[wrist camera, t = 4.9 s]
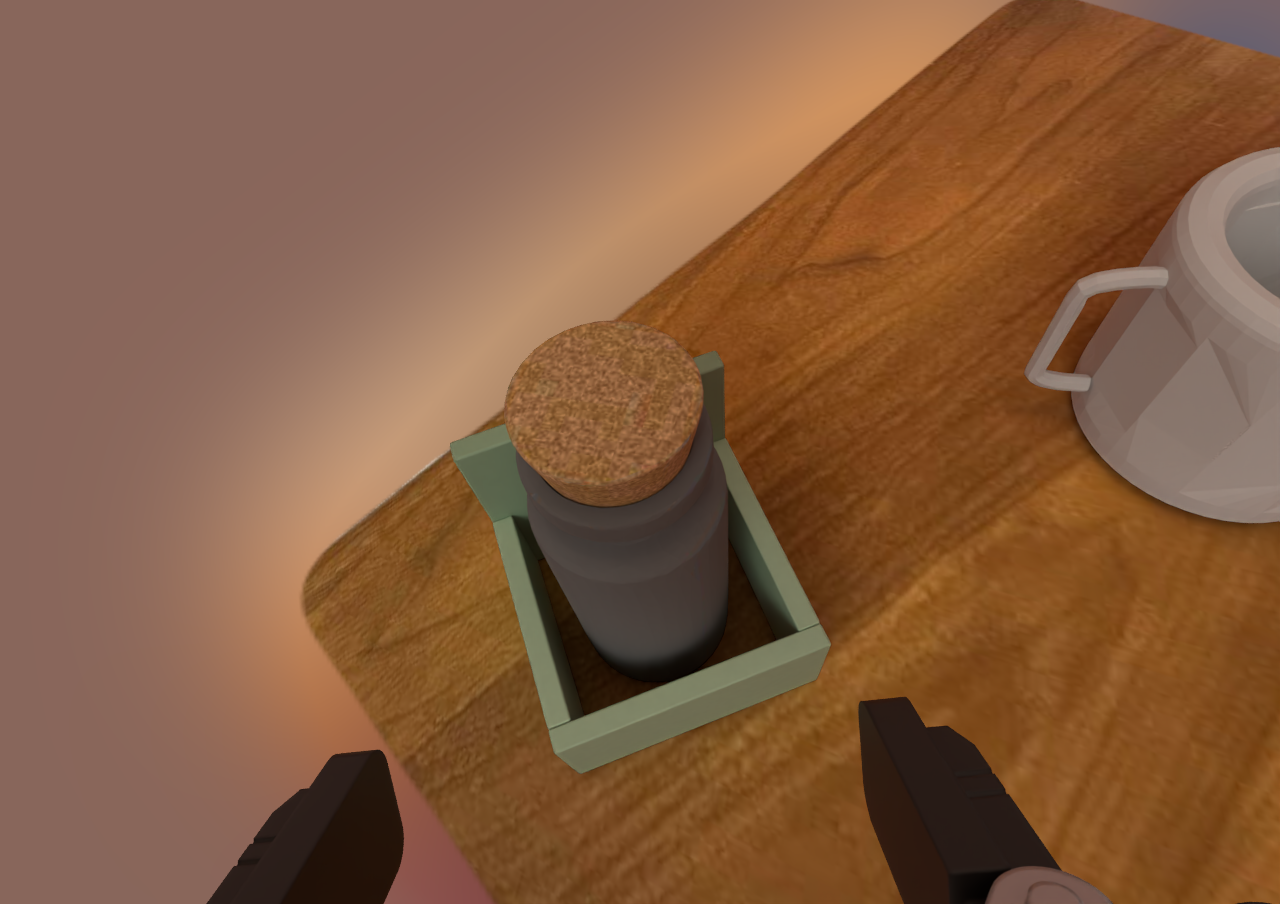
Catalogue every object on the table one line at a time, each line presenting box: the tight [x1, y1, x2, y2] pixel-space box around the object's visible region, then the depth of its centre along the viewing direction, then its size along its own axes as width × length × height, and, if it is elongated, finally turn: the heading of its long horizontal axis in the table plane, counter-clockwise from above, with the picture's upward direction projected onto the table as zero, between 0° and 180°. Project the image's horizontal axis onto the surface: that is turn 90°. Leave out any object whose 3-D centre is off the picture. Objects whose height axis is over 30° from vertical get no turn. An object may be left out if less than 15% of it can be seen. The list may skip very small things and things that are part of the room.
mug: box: [1024, 147, 1280, 523], centre depth 27 cm, size 14×11×10 cm
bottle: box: [504, 321, 728, 682], centre depth 23 cm, size 6×6×15 cm
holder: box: [450, 351, 831, 774], centre depth 26 cm, size 10×10×9 cm
